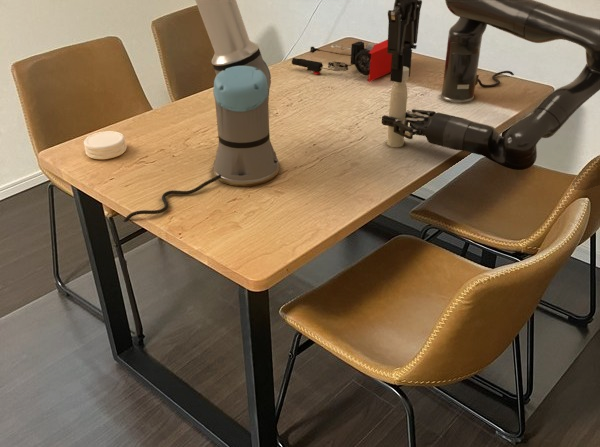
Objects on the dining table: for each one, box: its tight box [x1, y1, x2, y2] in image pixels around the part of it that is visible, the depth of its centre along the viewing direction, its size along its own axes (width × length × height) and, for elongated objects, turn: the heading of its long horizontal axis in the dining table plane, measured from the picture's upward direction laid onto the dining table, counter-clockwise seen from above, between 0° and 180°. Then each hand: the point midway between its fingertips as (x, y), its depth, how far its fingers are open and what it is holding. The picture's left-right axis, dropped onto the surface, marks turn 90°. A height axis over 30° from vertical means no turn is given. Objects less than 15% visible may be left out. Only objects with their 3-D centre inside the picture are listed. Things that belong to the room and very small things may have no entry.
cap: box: [402, 66, 409, 81], centre depth 148 cm, size 4×4×2 cm
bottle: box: [386, 80, 408, 148], centre depth 152 cm, size 4×4×19 cm
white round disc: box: [83, 130, 128, 160], centre depth 155 cm, size 10×10×4 cm
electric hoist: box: [291, 38, 404, 82], centre depth 206 cm, size 10×27×30 cm
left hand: (400, 78), depth 148 cm, fingers closed on cap, 4 cm apart
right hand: (387, 116), depth 155 cm, fingers closed on bottle, 4 cm apart
